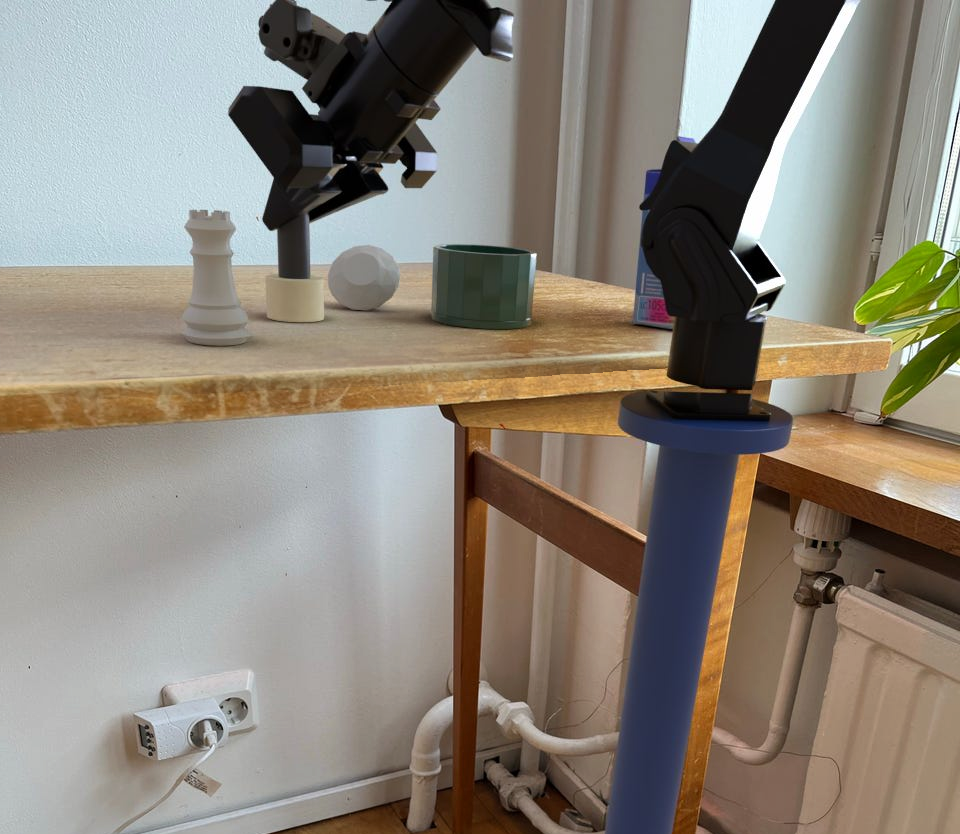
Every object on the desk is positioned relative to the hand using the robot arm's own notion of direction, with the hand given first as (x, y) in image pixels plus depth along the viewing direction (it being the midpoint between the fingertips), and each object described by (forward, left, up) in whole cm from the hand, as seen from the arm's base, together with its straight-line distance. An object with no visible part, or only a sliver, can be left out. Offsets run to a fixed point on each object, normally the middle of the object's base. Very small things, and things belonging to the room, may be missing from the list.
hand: (278, 225), depth 74 cm
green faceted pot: (+1, -16, -7) cm, 17 cm away
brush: (-1, -1, -7) cm, 7 cm away
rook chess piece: (-12, +4, -7) cm, 14 cm away
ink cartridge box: (+4, -34, -7) cm, 35 cm away
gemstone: (+7, -7, -7) cm, 12 cm away
